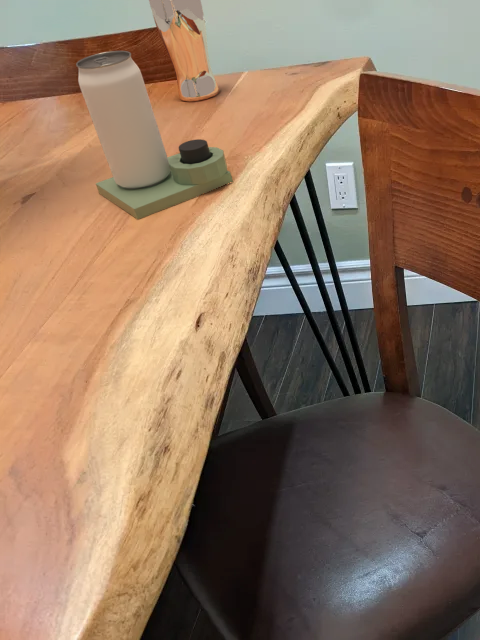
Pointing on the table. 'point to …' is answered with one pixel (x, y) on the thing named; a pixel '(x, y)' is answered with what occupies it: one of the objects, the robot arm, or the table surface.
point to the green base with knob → (170, 185)
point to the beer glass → (186, 46)
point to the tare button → (194, 151)
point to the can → (123, 119)
